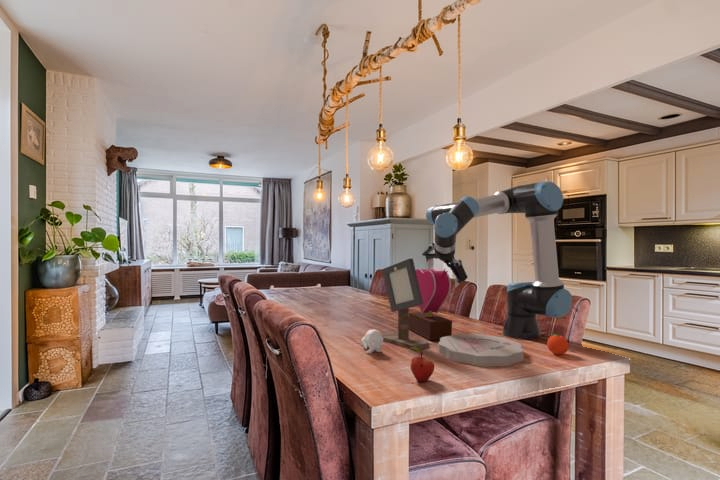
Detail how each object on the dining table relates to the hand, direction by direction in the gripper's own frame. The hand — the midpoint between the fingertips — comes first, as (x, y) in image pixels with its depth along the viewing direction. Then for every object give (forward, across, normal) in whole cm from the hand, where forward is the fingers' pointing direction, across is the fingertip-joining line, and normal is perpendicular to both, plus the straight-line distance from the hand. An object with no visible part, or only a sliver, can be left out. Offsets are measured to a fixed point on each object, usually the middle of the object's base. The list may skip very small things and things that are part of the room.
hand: (443, 275), depth 156 cm
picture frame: (-2, -1, -22) cm, 22 cm away
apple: (-23, +24, -44) cm, 55 cm away
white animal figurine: (0, -1, -43) cm, 43 cm away
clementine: (+7, +49, +2) cm, 49 cm away
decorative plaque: (+4, +29, -17) cm, 33 cm away
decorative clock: (+23, +6, -17) cm, 29 cm away
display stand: (+11, +2, -30) cm, 32 cm away
